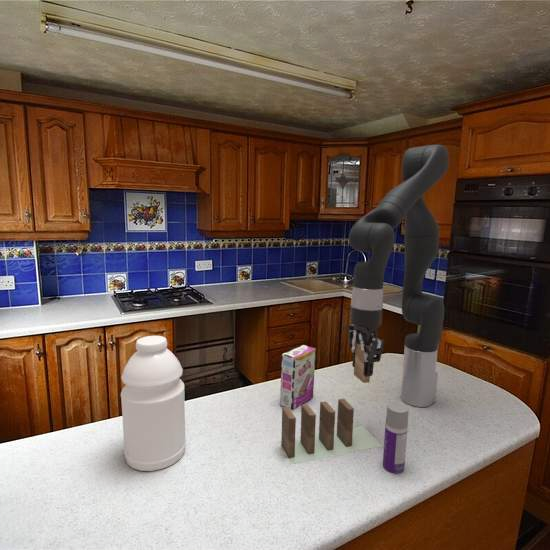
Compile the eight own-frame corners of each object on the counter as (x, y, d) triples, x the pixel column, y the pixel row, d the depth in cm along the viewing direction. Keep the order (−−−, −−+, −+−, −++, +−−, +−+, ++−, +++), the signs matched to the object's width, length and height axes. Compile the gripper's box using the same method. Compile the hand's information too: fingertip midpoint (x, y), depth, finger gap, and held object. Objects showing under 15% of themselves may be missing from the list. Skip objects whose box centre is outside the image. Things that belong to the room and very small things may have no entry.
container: (378, 464, 86) (382, 403, 83) (394, 459, 87) (399, 400, 85) (391, 477, 81) (396, 414, 79) (408, 473, 83) (413, 410, 81)
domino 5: (359, 373, 96) (361, 336, 95) (369, 382, 92) (372, 343, 90) (353, 374, 96) (356, 337, 94) (363, 382, 91) (366, 343, 90)
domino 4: (342, 434, 96) (344, 398, 95) (351, 446, 92) (353, 408, 90) (336, 435, 96) (338, 399, 94) (346, 447, 91) (348, 409, 90)
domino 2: (306, 441, 93) (307, 404, 92) (314, 453, 89) (315, 414, 87) (300, 442, 93) (301, 404, 91) (308, 454, 88) (309, 415, 86)
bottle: (197, 442, 93) (195, 334, 88) (162, 479, 80) (158, 355, 75) (150, 430, 97) (146, 327, 93) (110, 463, 85) (103, 345, 80)
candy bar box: (293, 412, 107) (294, 358, 105) (279, 406, 111) (280, 353, 108) (314, 398, 116) (316, 347, 113) (301, 392, 119) (302, 343, 116)
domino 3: (324, 437, 95) (326, 401, 93) (333, 449, 90) (335, 411, 88) (318, 438, 94) (320, 402, 93) (327, 450, 90) (329, 412, 88)
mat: (362, 427, 100) (362, 425, 100) (381, 447, 92) (381, 445, 92) (277, 442, 93) (278, 441, 93) (290, 465, 85) (290, 464, 85)
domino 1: (287, 444, 92) (288, 406, 90) (294, 457, 87) (295, 417, 85) (281, 445, 91) (282, 407, 90) (288, 458, 87) (289, 418, 85)
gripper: (397, 311, 85) (391, 382, 88) (365, 298, 99) (361, 359, 101) (368, 313, 83) (363, 385, 86) (339, 299, 97) (335, 361, 99)
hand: (362, 370), depth 94 cm, fingers closed on domino 5, 5 cm apart
